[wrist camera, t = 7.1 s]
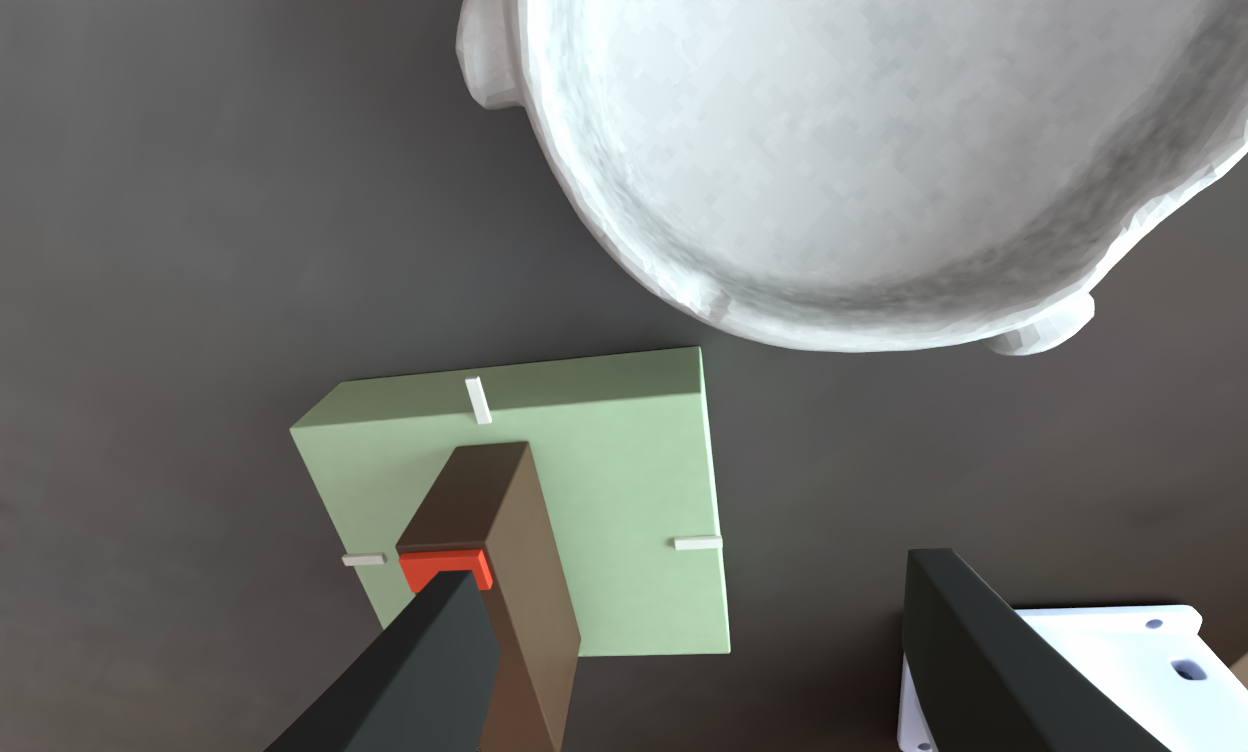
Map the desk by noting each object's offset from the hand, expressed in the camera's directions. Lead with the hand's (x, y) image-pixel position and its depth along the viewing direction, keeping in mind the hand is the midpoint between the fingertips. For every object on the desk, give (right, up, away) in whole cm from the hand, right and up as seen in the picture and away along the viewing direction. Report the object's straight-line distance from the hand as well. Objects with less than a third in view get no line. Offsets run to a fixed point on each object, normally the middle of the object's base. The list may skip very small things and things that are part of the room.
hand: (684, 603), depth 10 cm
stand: (-4, 0, +11) cm, 12 cm away
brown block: (-4, -2, +8) cm, 10 cm away
